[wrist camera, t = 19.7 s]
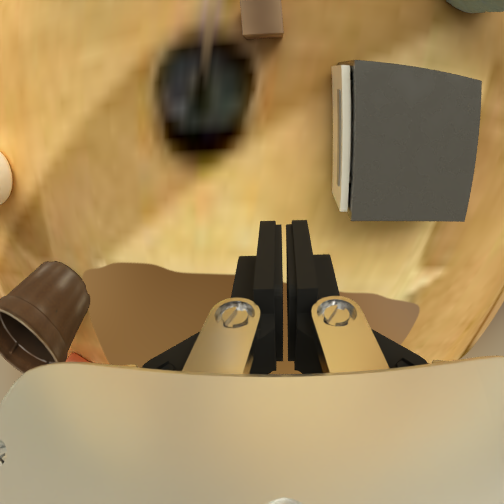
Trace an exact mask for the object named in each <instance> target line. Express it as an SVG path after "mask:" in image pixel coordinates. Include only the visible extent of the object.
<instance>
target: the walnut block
mask: <svg viewBox="0 0 504 504" xmlns="http://www.w3.org/2000/svg"><path fill="white" fill-rule="evenodd" d="M240 6H241V19H242V32H243V36H244V37H245V38H246V39H258V38H281V37H283V34H284V31H283V18H282V6H281V0H240Z"/></svg>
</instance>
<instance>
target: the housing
mask: <svg viewBox="0 0 504 504" xmlns="http://www.w3.org/2000/svg"><path fill="white" fill-rule="evenodd" d="M338 65H350V80H353V152H352V178H351V183H349V193H348V209H347V213H348V215H349V218H350V220H351V221H460V222H464V221H465V216H466V212H467V207H468V202H469V197H470V192H471V186H472V180H473V174H474V168H475V161H476V153H477V145H478V135H479V124H480V110H481V85H482V81H480V80H476V79H472V78H468V77H464V76H460V75H455V74H451V73H446V72H441V71H436V70H430V69H425V68H419V67H413V66H406V65H399V64H391V63H382V62H373V61H361V60H351V61H345V62H339V63H338Z"/></svg>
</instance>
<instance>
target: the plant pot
mask: <svg viewBox="0 0 504 504" xmlns="http://www.w3.org/2000/svg"><path fill="white" fill-rule="evenodd" d="M89 305H90V296H89V294H88V293H87V291H86V286H85V284H84V282H83V281H82V279H81V278H80V277H79V276H78V275H77V274H76V273H75V272H74V271H73V270H72V269H70V268H69V267H68V266H66V265H64V264H62V263H60V262H57V261H55V262H48V261H47V262H44V263H43V264H41V265H40V266H39V267H38V268H37V269H36V270H35V271H34V272H32V273H31V274H30V275H29V276H28V277H27V278H26V279H25V280H23V281H22V282H21V283H20V284H19V285H18V286H17V287H16V288H14V289H13V290H12V291H11V292H10V293H9V294H8V295H7V296H4V297H2V298H1V299H0V354H1V355H2V356H3V357H4V359H5V360H7V361H8V362H9V363H10V364H11V365H12V366H13V367H15V368H16V369H17V370H19V371H20V372H22V373H23V374H24V373H25V372H27V371H28V370H30V369H33V368H35V367H38V366H41V365H46V364H51V363H56V362H65V361H66V359H67V352H68V350H69V348H70V345H71V343H72V341H73V339H74V336H75V334H76V332H77V330H78V328H79V326H80V324H81V322H82V320H83V318H84V316H85V314H86V312H87V310H88V308H89Z"/></svg>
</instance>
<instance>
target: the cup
mask: <svg viewBox="0 0 504 504" xmlns="http://www.w3.org/2000/svg"><path fill="white" fill-rule="evenodd" d="M11 190H12V172H11V168H10V165H9V163H8V161H7V159H6V157H5V156H4V155H3V154H2V153H1V152H0V205H1V204H2V203H3V202H5V201H6V200H7V198H8V197H9V195H10V193H11Z"/></svg>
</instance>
